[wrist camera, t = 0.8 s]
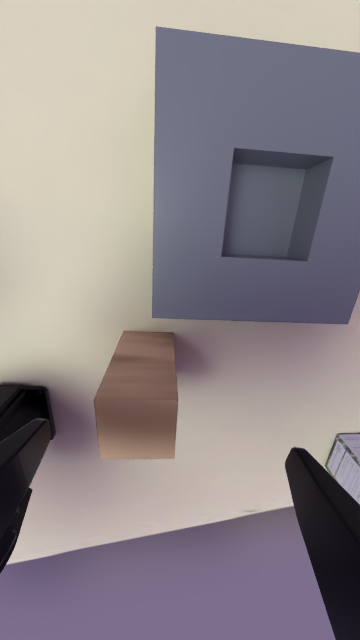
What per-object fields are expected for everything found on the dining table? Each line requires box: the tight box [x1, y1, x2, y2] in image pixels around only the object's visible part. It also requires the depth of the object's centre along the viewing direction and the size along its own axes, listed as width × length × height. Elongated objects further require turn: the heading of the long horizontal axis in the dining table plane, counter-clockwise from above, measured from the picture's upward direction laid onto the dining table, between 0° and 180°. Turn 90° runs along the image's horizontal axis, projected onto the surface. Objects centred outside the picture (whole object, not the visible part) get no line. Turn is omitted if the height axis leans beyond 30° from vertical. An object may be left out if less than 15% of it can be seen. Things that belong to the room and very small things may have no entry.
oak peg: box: [94, 331, 178, 460], centre depth 17 cm, size 4×4×9 cm
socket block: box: [152, 27, 360, 324], centre depth 16 cm, size 15×15×4 cm
